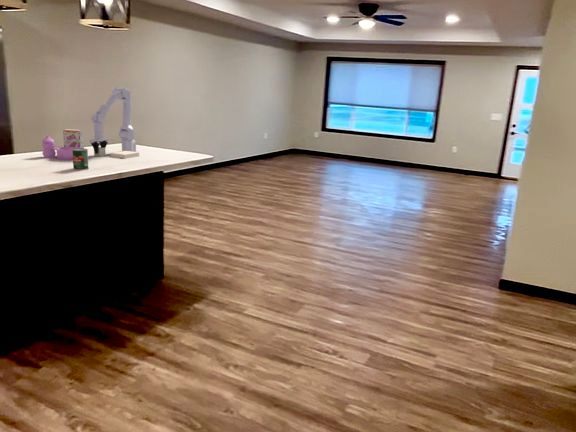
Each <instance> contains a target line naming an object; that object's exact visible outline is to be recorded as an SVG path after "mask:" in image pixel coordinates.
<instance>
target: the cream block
mask: <svg viewBox="0 0 576 432" xmlns="http://www.w3.org/2000/svg"><path fill="white" fill-rule="evenodd" d="M109 156H110V157H111V158H118V159H130V158H131V159H132V158H136V157H140V152H138V151H137V152H132V151H122V150H120V151H113V152H110V154H109Z"/></svg>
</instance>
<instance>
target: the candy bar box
mask: <svg viewBox="0 0 576 432" xmlns="http://www.w3.org/2000/svg"><path fill="white" fill-rule="evenodd" d="M62 132H63V133H62V135H63V147H81V148H83V149H85V146H84V130H81V129H70V128H64V129H62Z"/></svg>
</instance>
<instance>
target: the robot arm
mask: <svg viewBox="0 0 576 432" xmlns="http://www.w3.org/2000/svg"><path fill="white" fill-rule="evenodd" d="M117 100H121V101H122V102H123V103H122V105H123V106H122V126H121V127H120V129H119V133H118V135H119V137H120V140H121V151H132V152H138V151H137V143H136V140H135V139H134V138H135V137H136V135H135V134H136V133H135V128H133V126H132V110H133V109H132V108H133V99H132V95H131V91H130V89H128V88H126V87H115V88H114V89H113V90H112V93H111V95H110V97H109V98H108V99H107V101H106V103H104V104H101V105H100V108H99V109H97V111H96V113H93V115H92V116H91V121H92V124H93V131H94V132H93V137H94V138H92V139H89V143H90V144H91V146H92V148H93V152H94V151H95V153H97V154H98V152H99V147H102V148H105V149H106V147H107V145H108V142H109V137H104V136H105V135H104V122H105V121H106V116H107V115H108V114H109V112H110V111H111V107H112V106H113V105H114V103H115V102H116V101H117Z"/></svg>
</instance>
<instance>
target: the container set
mask: <svg viewBox="0 0 576 432" xmlns="http://www.w3.org/2000/svg"><path fill="white" fill-rule="evenodd" d="M54 142H55V140H54V139H53V138H51V136H50V135H45V138H43V139H42V144H41V146H42V148H43V150H42V156H43V158H46V157H48V158H49V159H50V158H54V157H55V156H56V159H57V160H60V161H73V150H72V149H77V148H81V147H64V146H60V147H55V146H56V143H54ZM54 148H56V150H55V149H54ZM48 158H47V159H48Z"/></svg>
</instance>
